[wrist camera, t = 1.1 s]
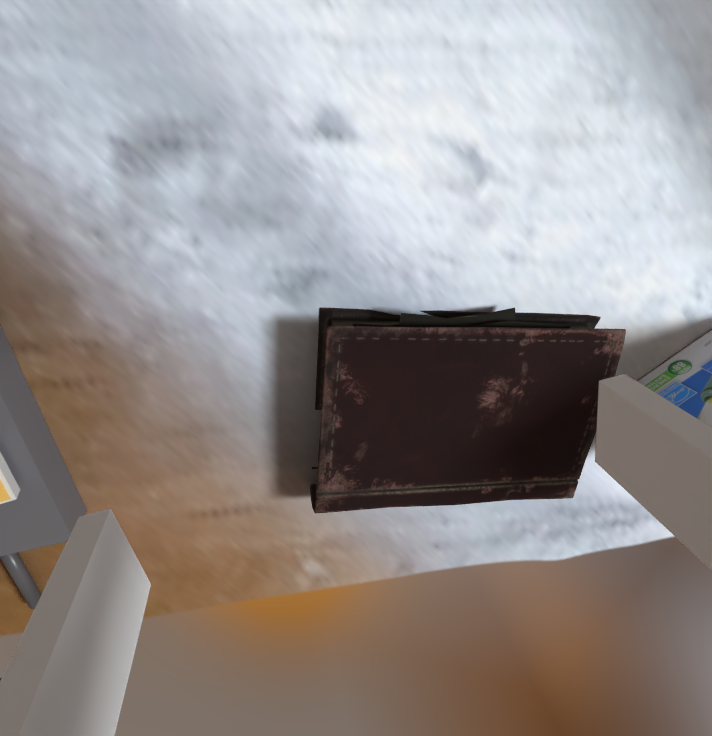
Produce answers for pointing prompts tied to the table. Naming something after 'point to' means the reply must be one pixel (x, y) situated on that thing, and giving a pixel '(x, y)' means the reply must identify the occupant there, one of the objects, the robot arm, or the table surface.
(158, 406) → the table surface
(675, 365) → the string lights box
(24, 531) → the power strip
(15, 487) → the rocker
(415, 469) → the diary
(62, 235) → the table surface
